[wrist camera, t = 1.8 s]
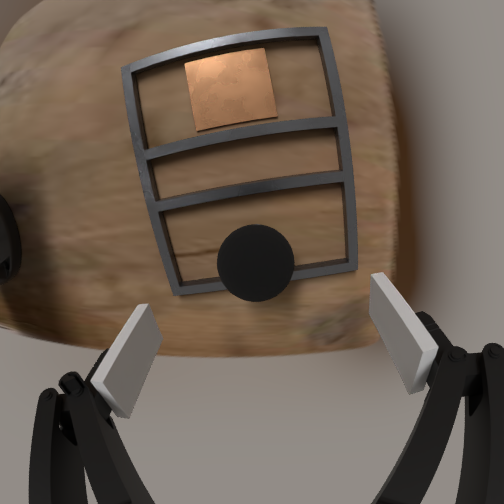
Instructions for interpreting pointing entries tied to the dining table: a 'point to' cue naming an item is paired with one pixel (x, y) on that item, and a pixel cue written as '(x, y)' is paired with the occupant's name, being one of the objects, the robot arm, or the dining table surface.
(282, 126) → the gray divided frame
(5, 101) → the dining table surface
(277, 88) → the dining table surface
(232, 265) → the light bulb
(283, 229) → the dining table surface
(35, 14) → the dining table surface
